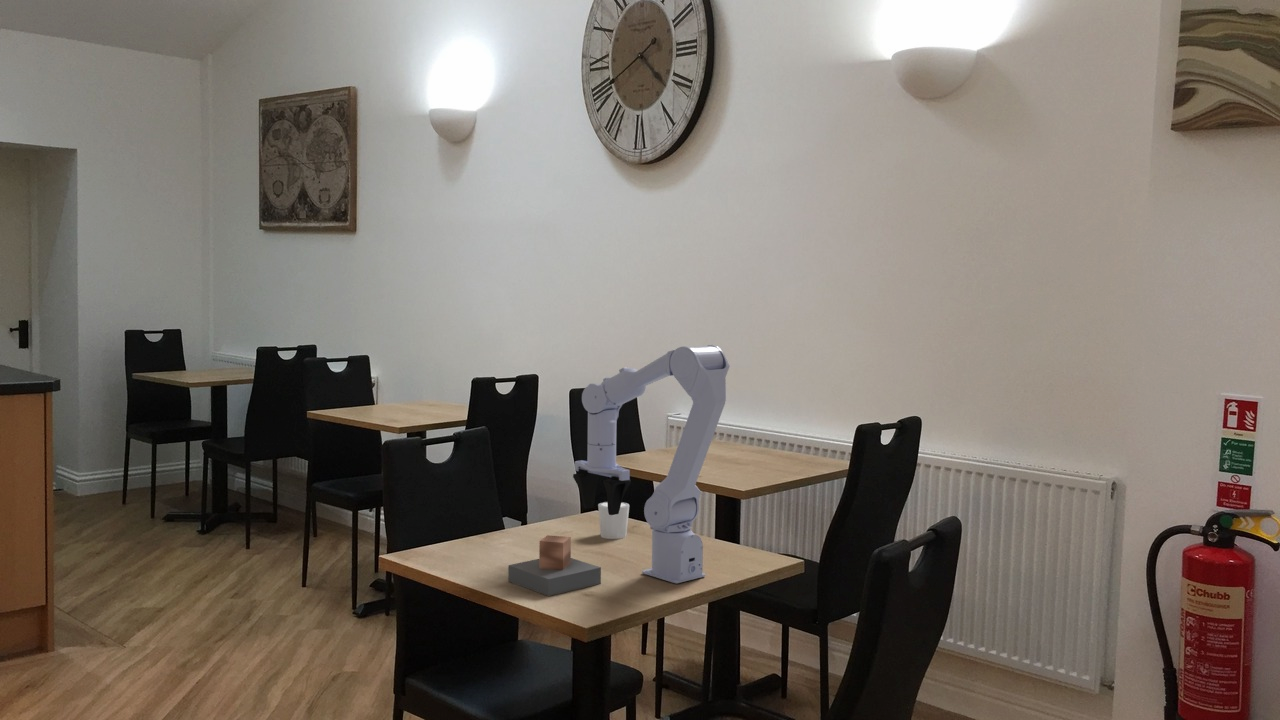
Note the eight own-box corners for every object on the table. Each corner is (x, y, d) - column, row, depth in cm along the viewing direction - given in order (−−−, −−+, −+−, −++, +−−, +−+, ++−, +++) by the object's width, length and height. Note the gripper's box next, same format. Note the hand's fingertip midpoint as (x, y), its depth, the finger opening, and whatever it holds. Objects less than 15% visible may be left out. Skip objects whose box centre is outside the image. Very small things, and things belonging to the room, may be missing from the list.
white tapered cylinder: (630, 532, 228) (631, 501, 228) (627, 540, 221) (627, 508, 221) (599, 531, 229) (600, 500, 228) (595, 539, 222) (595, 507, 222)
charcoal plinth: (600, 583, 189) (600, 567, 188) (548, 596, 180) (548, 579, 180) (559, 569, 197) (559, 554, 197) (508, 581, 189) (508, 565, 189)
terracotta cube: (570, 563, 191) (570, 537, 190) (563, 570, 186) (563, 542, 186) (547, 561, 192) (547, 535, 191) (539, 568, 187) (539, 541, 187)
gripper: (641, 446, 203) (640, 514, 204) (593, 437, 213) (592, 502, 214) (614, 449, 198) (613, 519, 199) (567, 440, 209) (566, 507, 209)
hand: (601, 511), depth 206 cm, fingers open, 7 cm apart
